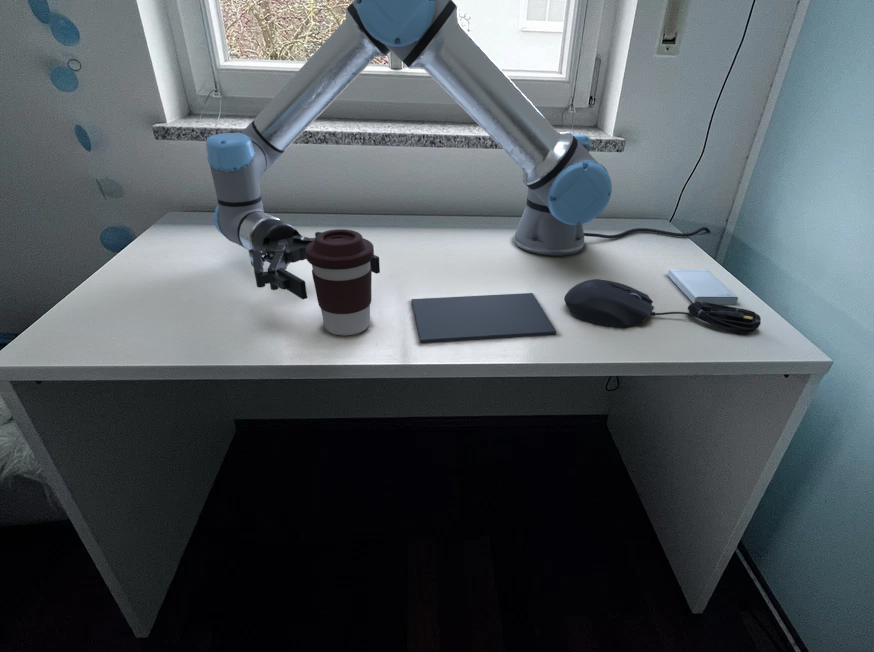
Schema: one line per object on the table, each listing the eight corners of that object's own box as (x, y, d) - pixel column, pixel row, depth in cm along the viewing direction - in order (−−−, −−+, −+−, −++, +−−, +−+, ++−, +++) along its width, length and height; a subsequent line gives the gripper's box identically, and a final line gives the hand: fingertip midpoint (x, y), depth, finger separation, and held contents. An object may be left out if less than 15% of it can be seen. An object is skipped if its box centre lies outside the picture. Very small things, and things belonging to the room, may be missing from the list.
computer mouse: (562, 298, 99) (566, 270, 96) (746, 314, 96) (756, 285, 93) (563, 323, 91) (567, 293, 88) (764, 341, 88) (775, 311, 85)
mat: (532, 295, 100) (532, 292, 99) (556, 334, 88) (556, 331, 88) (411, 302, 96) (411, 298, 96) (420, 343, 85) (420, 339, 84)
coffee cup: (367, 344, 84) (360, 252, 75) (306, 337, 85) (292, 245, 77) (385, 314, 92) (380, 228, 84) (329, 308, 93) (319, 222, 85)
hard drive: (739, 296, 98) (708, 268, 109) (695, 296, 98) (668, 268, 108) (736, 305, 99) (706, 276, 110) (692, 305, 99) (666, 275, 109)
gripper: (333, 242, 106) (405, 277, 94) (206, 279, 90) (272, 325, 78) (329, 204, 102) (403, 234, 90) (195, 235, 86) (263, 277, 74)
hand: (342, 277), depth 84 cm, fingers open, 13 cm apart
